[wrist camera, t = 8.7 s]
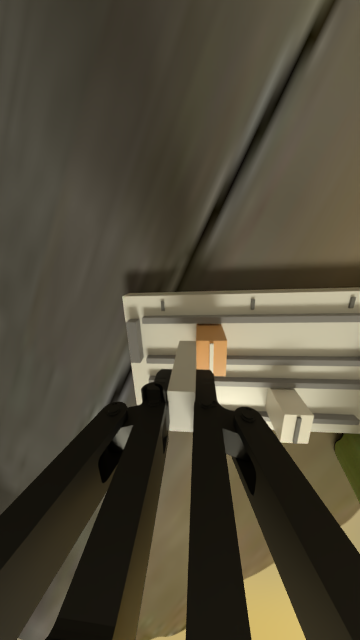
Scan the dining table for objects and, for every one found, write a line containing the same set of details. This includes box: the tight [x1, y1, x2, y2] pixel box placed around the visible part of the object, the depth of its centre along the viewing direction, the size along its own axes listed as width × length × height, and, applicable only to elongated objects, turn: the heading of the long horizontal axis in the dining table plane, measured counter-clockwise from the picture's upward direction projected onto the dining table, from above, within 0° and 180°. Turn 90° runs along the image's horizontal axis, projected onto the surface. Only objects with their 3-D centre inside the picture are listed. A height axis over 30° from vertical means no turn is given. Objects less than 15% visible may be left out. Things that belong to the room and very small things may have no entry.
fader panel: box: [122, 287, 360, 444], centre depth 19 cm, size 16×26×6 cm, turn 92°
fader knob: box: [196, 324, 227, 376], centre depth 17 cm, size 3×2×4 cm
